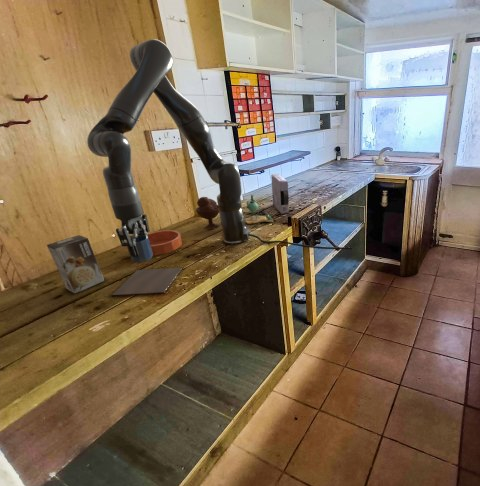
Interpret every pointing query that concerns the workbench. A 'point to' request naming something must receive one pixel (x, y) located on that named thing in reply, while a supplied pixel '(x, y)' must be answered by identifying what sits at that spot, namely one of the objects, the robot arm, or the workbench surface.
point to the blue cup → (142, 249)
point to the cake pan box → (280, 193)
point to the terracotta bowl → (164, 241)
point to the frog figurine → (254, 219)
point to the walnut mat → (148, 282)
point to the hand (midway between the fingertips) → (140, 251)
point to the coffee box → (76, 263)
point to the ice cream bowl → (207, 210)
